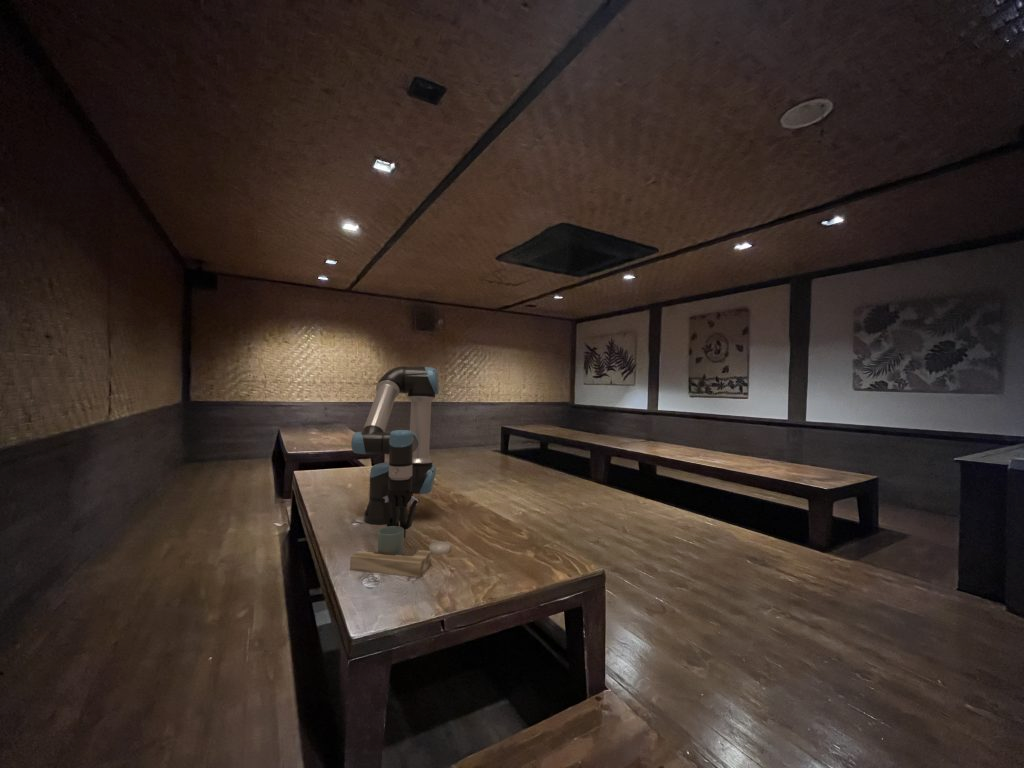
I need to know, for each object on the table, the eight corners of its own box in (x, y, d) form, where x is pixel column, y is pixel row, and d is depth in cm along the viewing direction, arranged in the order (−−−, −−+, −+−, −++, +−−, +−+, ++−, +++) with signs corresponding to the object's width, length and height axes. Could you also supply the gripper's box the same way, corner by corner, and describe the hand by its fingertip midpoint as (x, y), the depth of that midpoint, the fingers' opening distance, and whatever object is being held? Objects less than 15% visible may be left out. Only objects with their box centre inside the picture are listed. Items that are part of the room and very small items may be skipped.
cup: (394, 568, 120) (395, 535, 120) (372, 565, 122) (373, 532, 122) (407, 558, 127) (408, 527, 127) (386, 555, 129) (387, 524, 129)
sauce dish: (433, 546, 139) (433, 540, 139) (452, 548, 137) (452, 542, 138) (426, 554, 132) (426, 548, 132) (446, 556, 131) (446, 550, 131)
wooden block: (365, 557, 127) (366, 544, 127) (430, 564, 124) (431, 550, 124) (350, 569, 118) (350, 555, 118) (419, 577, 115) (420, 562, 115)
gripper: (376, 478, 127) (374, 552, 127) (414, 481, 125) (413, 555, 125) (387, 473, 135) (385, 543, 135) (423, 476, 133) (422, 546, 133)
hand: (398, 549), depth 130 cm, fingers closed
